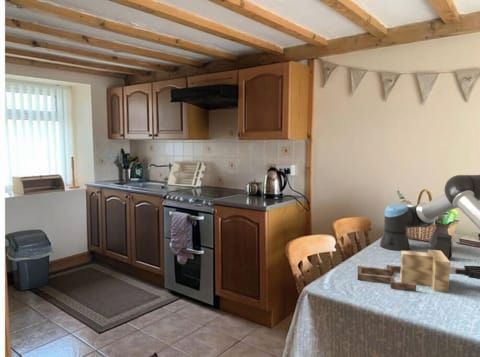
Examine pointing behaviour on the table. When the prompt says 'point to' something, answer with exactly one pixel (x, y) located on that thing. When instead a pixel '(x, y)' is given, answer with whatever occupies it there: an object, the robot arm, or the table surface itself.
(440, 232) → the coffee pot
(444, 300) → the table surface
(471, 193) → the robot arm
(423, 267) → the oak T block
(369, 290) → the table surface
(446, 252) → the phone stand
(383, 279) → the walnut T frame
